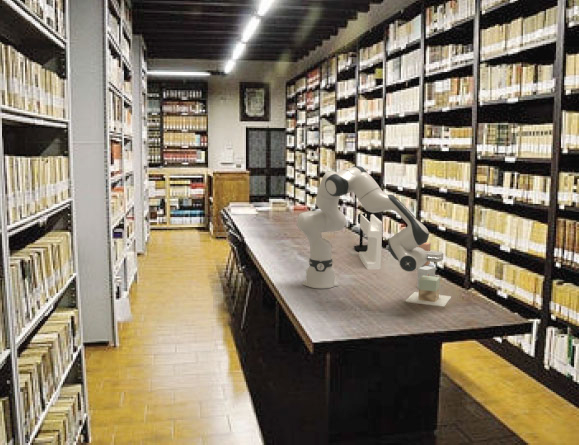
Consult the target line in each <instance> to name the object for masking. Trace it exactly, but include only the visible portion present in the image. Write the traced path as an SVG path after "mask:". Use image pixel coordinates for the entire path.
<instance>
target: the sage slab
mask: <svg viewBox="0 0 579 445" xmlns="http://www.w3.org/2000/svg"><path fill="white" fill-rule="evenodd" d="M440 285H441V278H440V277H439V276H435V277H432V276H422V277H421V278H420V279H419V288H418V291H419V290H427V291H435V292H436V291H437V290H438V289H439V290H440V287H441V286H440Z"/></svg>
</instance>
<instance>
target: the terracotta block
mask: <svg viewBox="0 0 579 445" xmlns="http://www.w3.org/2000/svg"><path fill="white" fill-rule="evenodd" d="M431 244H432V243H431V242H426V243H424V244H422V245H420V246H418V247H420V248H422V249H424V250H425V251H431ZM430 264H431V261H427V262H426V263H425V264H424V265H423V266H429V265H430Z"/></svg>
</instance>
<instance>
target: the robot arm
mask: <svg viewBox="0 0 579 445" xmlns="http://www.w3.org/2000/svg"><path fill="white" fill-rule="evenodd" d="M350 193H353V194H354V195H355V197H356V198H357V200H358V202H359V203H360V204H361V206H362V207H363V209H364V210H365V209H366V212H367V211H368V213H369V212H370V213H371V212H373V213H374V214H375V213H376V212H387V211H394V212H396V213H397V214H398V215H399V217H401V219H402V220H403V221H404V222H405V223H406V224H407V226H406V227H404V228H403V229H401V230H400V231H399V232H397V233H395V234H393V235H392V236H391V237H389V239H388V242H387V243H388V245H387V249H388V251H389V253H390V255H391V256H392V257H393V258H394V259H395V261H397V262H398V263H399V266H400V268H401V269H402V270H404V271H405V272H409V273H412V272H416V271H418V269H419V268H420V267H424V266H425V265H424V264H425V263H426V262H427V261H430V263H431V262H434V263H438V262H441V261H443V260H444V252H442V251H431V250H430V251H425V250H424V249H422V248H420V247H418V246H420V245H422V244H424V243H428V240H429V237H430V232H429V230H428V228H427V227H426V226H425V225H424V224H423V223H422V222H421V221H420V220H419V219H418V218H417V217H416V216H415V215H414V214H413V213H412V212H411V211H410V210H409V209H408V208H407V207H406V205H404V203H403V202H401V201H400V199H398V197H396V196H395V195H393V194H388V193H385V192H384V191H383V190H382V188H381V187H380V186H379V184H378V183H377V182H376V180H375V179H374V178H373V176H371V175H370V174H369V173H368V172H367V170H365V168H364V167H363V166H360V165H354V166H351V167H347V168H344V169H342V170H339V171H333V170H331V171H327V172H325V174H324V175H323V177H322V178H321V181H320V183H319V186H318V190H317V194H316V197H315V204H316V206H317V208H318V209H319V210H314V211H313V210H312V211H311V210H309V211H305V212H301V213H299V215H298V216H297V218H296V226H297V228H298V230H299V231H300V232H302V233H303V234H304V235H305V237H306V238H307V240H308V243H309V252H310V253H309V254H310V255H309V257H310V258H309V260H308V267H307V269H306V271H305V274H306V275H305V280H304V281H302V285H303V286H305V287H306V286H307V287H309V288H313V289H330V288H334V287H339V285H340V284H339V282H338V281H337V280H336V270H335V269H334V267H333V262H334V261H333V258H332V256H333V255H332V252H333V246H332V243H331V242H330V241H329V240H328V239H325V238H324V237H323V236H322V233H333V232H338V231H342V230H343V229H344V228H345V226H346V223H347V219H346V215H345V214H344V213H343V212H342V211H341V210H340V209H339V201H340V197H342V196H344V195H347V194H350Z"/></svg>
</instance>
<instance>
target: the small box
mask: <svg viewBox="0 0 579 445" xmlns="http://www.w3.org/2000/svg"><path fill="white" fill-rule="evenodd" d="M435 275H436V267H434V266H429V265H428V266H426V265H423V266H421V267H420V268H419V269H417V275H416V277H417V278H416V280H417V282H416V288H417V289H419V279H420V278H421V277H422V276H432V277H436V276H435Z"/></svg>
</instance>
